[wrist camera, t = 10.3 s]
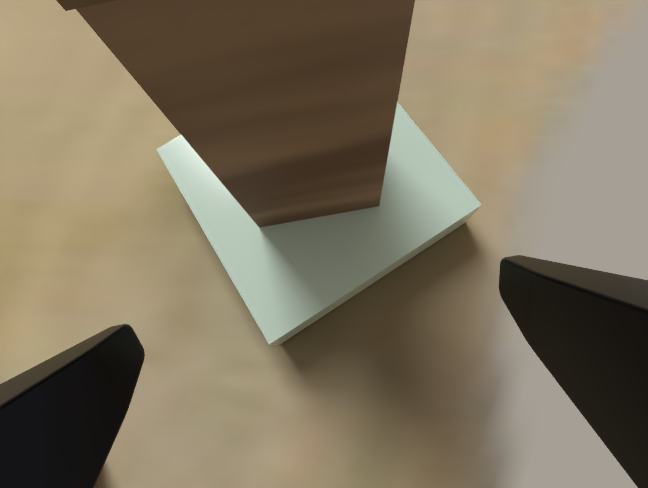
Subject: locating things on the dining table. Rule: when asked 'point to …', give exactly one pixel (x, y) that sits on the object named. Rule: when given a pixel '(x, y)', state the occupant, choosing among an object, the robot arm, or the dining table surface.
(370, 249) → the plate
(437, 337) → the dining table surface
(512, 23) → the dining table surface
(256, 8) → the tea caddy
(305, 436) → the dining table surface
